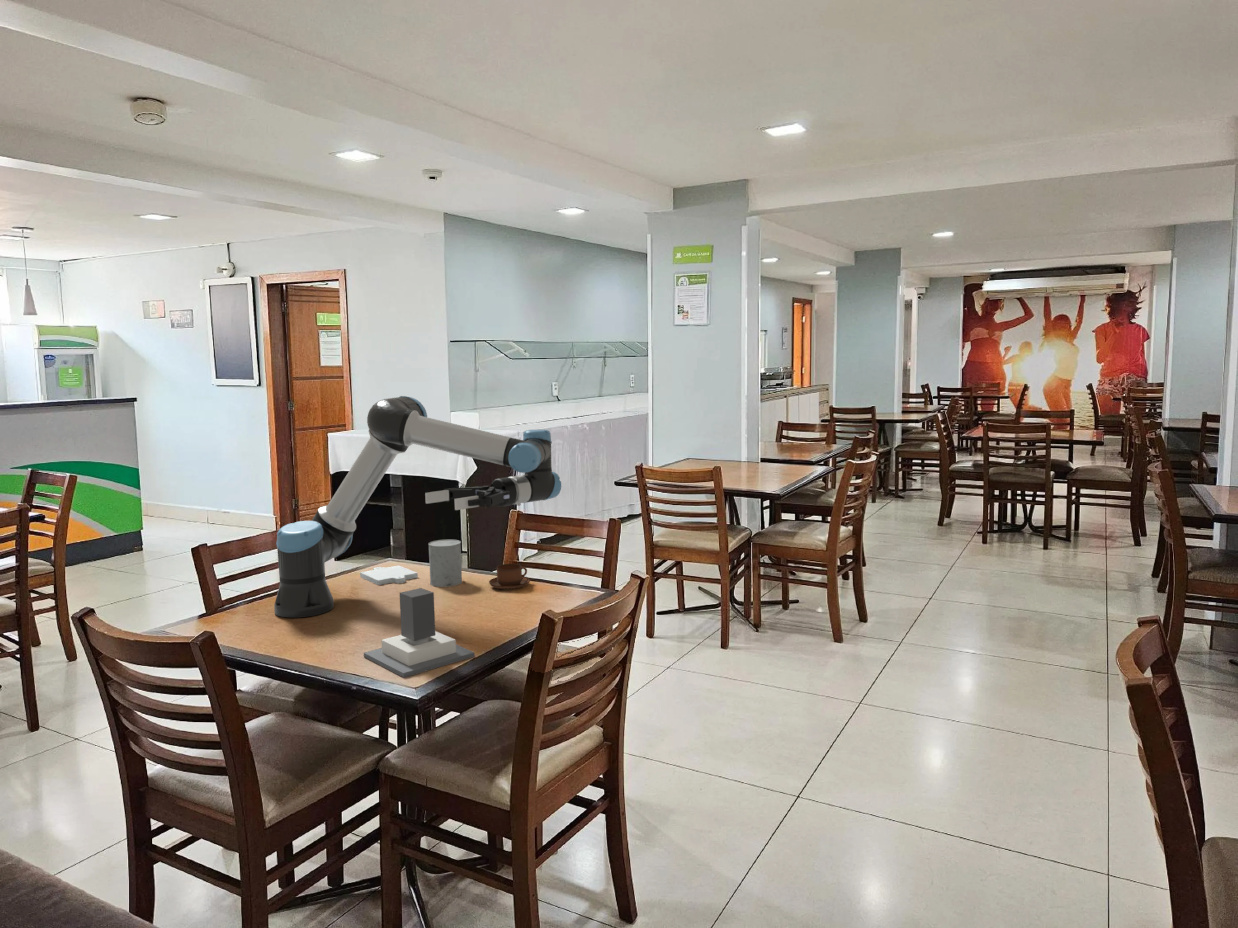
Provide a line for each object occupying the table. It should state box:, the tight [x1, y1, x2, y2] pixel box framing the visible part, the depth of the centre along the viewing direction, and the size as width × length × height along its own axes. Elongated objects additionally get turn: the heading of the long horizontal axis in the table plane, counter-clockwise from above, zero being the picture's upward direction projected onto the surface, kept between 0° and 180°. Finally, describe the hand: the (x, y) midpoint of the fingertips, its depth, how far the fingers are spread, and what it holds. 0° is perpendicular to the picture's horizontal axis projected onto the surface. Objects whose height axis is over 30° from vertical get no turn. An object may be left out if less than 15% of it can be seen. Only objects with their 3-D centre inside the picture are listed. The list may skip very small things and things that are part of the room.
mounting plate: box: [359, 564, 419, 586], centre depth 266 cm, size 18×13×2 cm
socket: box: [363, 630, 476, 678], centre depth 195 cm, size 18×18×4 cm
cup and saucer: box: [488, 563, 531, 591], centre depth 253 cm, size 12×12×6 cm
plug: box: [399, 587, 436, 646], centre depth 194 cm, size 6×6×14 cm
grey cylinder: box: [428, 538, 463, 588], centre depth 258 cm, size 10×10×12 cm
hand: (440, 501), depth 213 cm, fingers open, 13 cm apart
